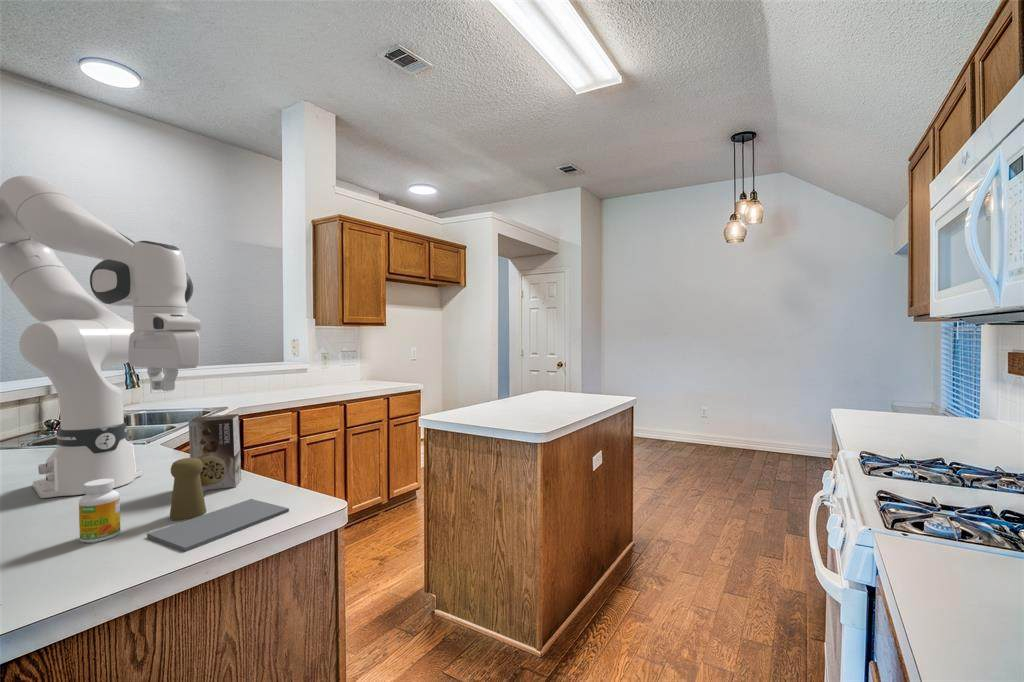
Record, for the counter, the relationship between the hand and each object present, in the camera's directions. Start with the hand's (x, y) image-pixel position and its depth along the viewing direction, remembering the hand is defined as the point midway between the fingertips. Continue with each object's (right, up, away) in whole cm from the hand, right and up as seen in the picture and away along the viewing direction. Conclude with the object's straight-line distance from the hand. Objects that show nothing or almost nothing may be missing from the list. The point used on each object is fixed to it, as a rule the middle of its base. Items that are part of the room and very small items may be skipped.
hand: (163, 390), depth 95 cm
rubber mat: (+17, -24, -8) cm, 30 cm away
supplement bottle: (-1, -25, -13) cm, 28 cm away
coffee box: (+2, -24, +14) cm, 28 cm away
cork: (+7, -24, -3) cm, 26 cm away
